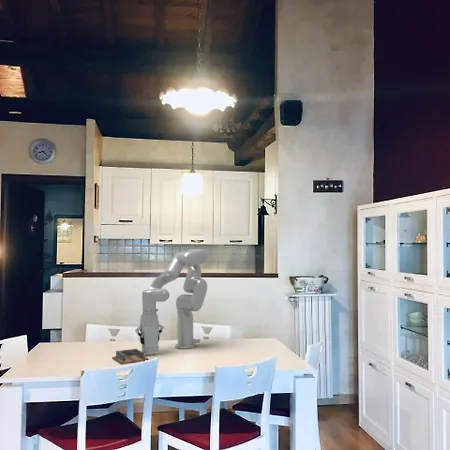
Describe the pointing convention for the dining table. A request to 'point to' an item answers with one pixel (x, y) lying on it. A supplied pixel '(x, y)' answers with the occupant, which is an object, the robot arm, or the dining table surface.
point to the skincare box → (150, 340)
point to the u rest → (129, 356)
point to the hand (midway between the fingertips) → (149, 342)
